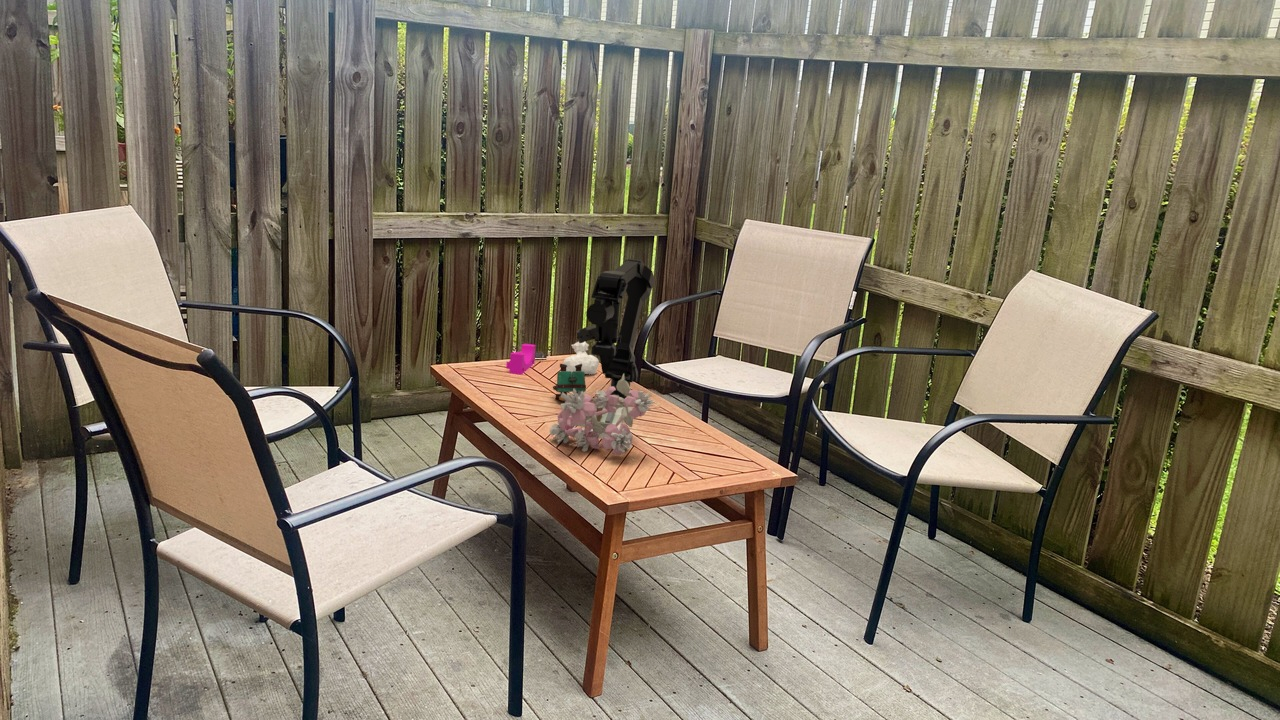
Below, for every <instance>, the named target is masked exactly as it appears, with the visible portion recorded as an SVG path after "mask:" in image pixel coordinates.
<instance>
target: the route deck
mask: <svg viewBox="0 0 1280 720" xmlns="http://www.w3.org/2000/svg"><path fill="white" fill-rule="evenodd" d="M581 392H582V391H578V393H577V394H578V395H579V396H580V394H581ZM616 396H619V395H616ZM623 408H624V407H622V408H618V409H616V410H615V412H608V413H605V414H603V415H602V418H601V420H600V422H599V423H611V424H616V423H617V421H618V420H619V418H620V417H621V412H622V409H623ZM603 410H605V408H603ZM570 416H572V413H571V414H570ZM623 422H624V421H623V420H622V422H621V423H620V424H619V425H618V426H617V428H618V429H619V431H620V429H621V424H622V423H623ZM557 424H558V423H557ZM623 424H624V423H623ZM558 425H559V424H558ZM577 427H582V429H583V432H582V433H584V434H585V432H584V429H585V424H583V425H577V426H576V425H575V426H574V427H573V428H572V429H576V428H577ZM583 427H584V428H583ZM592 431H593V429H592V430H591V431H590V432H592ZM603 437H610V436H608V435H607V434H606V433H602V434H600V435H599V437H598V439H599V440H600V439H601V440H602V439H603Z"/></svg>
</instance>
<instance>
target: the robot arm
mask: <svg viewBox="0 0 1280 720" xmlns="http://www.w3.org/2000/svg"><path fill="white" fill-rule="evenodd" d="M655 283H656V277H655V275H654V272H653V271H652V269H650V268H649V267H647V266H646V264H645V263H644V261H642V260H640V259H633V258H628V259H625V261H624V262H623V264H621V265H619V266H618V267H617V268H616V269H614V270H604V271H602V272H601V273H600V274H599V275H598V276H597V277H596V281H595V284H594V287H593V291H592V294H591V298H592V299H594V303H592V304H590V305H589V306H588V308H587V310H586V311H585V312H586V313H585V314H586V318H587V320H588V321H589V323H591V324H593V325H590V326H587V327H586V326H585V327H583V328H581V327H580V328H579V329H577V331H576V332H575V333H576V339H577V341H578V342H579V343H583V342H588V341H592V340H594V342H595V343H594V344H593V345H592V346H591V350H590V351H591V354H590V355H592V356H595V355H596V356H599V359H600V360H599V362H600V367H601V371H602V372H601V373H602V374H604V378H605V379H610V387H612V386H614V387H615V389H616V390H614V391H613V392H612V393H611V394H610V395H619V397H621V398H624V399H625V398H626V397H627V396H625V395H624V394H622V393H621V392H620V391H618V390H617V388H616V386H617V383H618V381H619V380H621V379H622V376H623V374H624V380H625V381H627V382H628V384H629V386H630V387H631V383H634V382H636V383H637V382H638V376H639V371H638V368H637V365H636V357H635V354H634V350H633V345H634V342H635V338H636V333H637V329H638V325H639V320H640V316H641V312H642V307H643V304H644V301H646V300H647V299H648V298H649V297H650V296H651V294H652V289H654V287H655ZM625 294H626V295H627V299H626V304H625V307H624V312H623V315H622V316H623V317H622V320H620V314H621V313H620V312H621V301H622V300H623V299H624V296H625ZM620 321H621V322H620ZM620 323H621V325H620ZM619 327H620V328H619Z"/></svg>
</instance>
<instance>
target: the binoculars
mask: <svg viewBox="0 0 1280 720" xmlns="http://www.w3.org/2000/svg"><path fill="white" fill-rule="evenodd" d="M566 367H567V365H565V364H564V363H559V368H560V371H557V378H556V383H555V385H554V386H552V389H553V391H556V392H557V393H556V394H555V397H554V399H555V400H558V401H559V400H560V401H561V402H565V401H566V399H564V398H561V394H562V392H563V393H564V394H566V395H568V393H573V389H575V390H576V391H577V393H578V391H583V392H584V393H585V392H586V389H587V385H586V375H585V373H584V372H583V371H581V367H582V364H579V365H576V366H575V368H576V371H573V372H571V371H566ZM573 396H574V394H573Z"/></svg>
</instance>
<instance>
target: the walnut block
mask: <svg viewBox="0 0 1280 720" xmlns="http://www.w3.org/2000/svg"><path fill="white" fill-rule="evenodd" d="M591 403H595V402H594V401H592V402H591ZM596 403H597V402H596ZM596 403H595V404H596ZM602 410H603V408H597V411H596V412H599V411H602ZM601 418H602V415H600V416H597V421H598V422H600V420H601Z"/></svg>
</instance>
